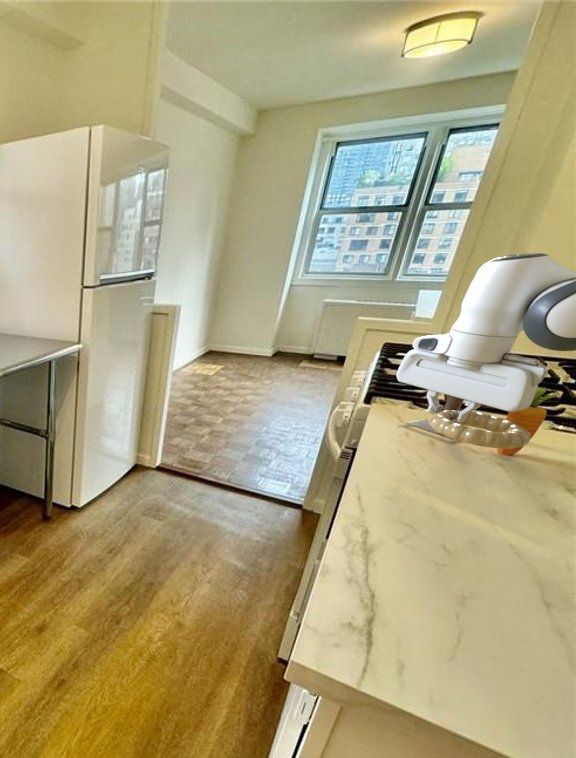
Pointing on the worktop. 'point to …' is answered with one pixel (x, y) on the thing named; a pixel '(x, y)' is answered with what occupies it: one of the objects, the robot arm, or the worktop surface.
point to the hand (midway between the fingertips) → (444, 417)
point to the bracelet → (499, 437)
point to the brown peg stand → (451, 404)
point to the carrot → (528, 418)
